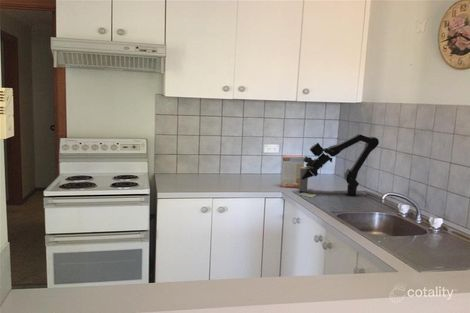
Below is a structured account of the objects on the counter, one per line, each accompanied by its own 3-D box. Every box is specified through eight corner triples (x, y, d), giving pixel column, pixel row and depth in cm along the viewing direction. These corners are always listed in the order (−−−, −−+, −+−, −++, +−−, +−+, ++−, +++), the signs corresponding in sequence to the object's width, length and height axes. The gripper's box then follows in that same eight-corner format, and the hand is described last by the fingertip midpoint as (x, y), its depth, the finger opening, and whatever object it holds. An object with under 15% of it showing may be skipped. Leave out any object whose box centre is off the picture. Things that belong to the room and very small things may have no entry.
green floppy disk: (303, 193, 262) (303, 192, 262) (315, 195, 258) (315, 194, 258) (299, 195, 256) (299, 194, 256) (311, 197, 252) (311, 196, 252)
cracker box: (301, 186, 284) (303, 155, 281) (302, 188, 278) (304, 156, 275) (280, 185, 283) (282, 154, 280) (281, 187, 277) (283, 155, 274)
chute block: (306, 189, 268) (307, 167, 266) (307, 190, 264) (308, 168, 261) (299, 188, 268) (300, 166, 266) (299, 190, 264) (301, 168, 262)
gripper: (309, 150, 271) (291, 166, 274) (313, 154, 253) (294, 171, 255) (321, 162, 272) (303, 178, 274) (326, 167, 254) (306, 184, 256)
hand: (301, 178), depth 265 cm, fingers closed on chute block, 4 cm apart
